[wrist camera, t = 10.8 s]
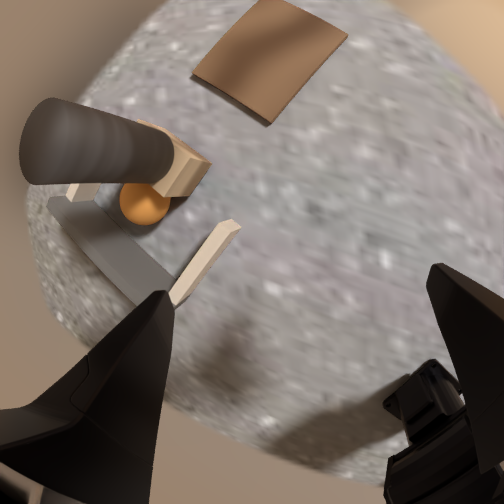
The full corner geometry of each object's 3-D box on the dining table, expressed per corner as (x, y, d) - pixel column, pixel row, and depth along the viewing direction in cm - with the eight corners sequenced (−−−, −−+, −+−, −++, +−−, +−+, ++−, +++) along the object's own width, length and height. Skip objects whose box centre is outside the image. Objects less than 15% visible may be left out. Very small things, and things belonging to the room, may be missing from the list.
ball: (137, 243, 20) (169, 224, 23) (154, 202, 18) (188, 187, 21) (104, 211, 20) (137, 196, 24) (117, 168, 18) (153, 158, 21)
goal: (241, 227, 22) (221, 237, 17) (185, 301, 24) (157, 324, 19) (121, 130, 22) (84, 121, 17) (83, 202, 24) (46, 206, 20)
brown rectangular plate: (347, 37, 17) (348, 34, 17) (271, 123, 20) (270, 122, 19) (267, -4, 17) (266, -7, 17) (194, 74, 20) (191, 72, 20)
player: (214, 160, 20) (91, 127, 8) (187, 199, 21) (51, 213, 9) (168, 126, 21) (38, 81, 8) (143, 163, 22) (7, 151, 9)
